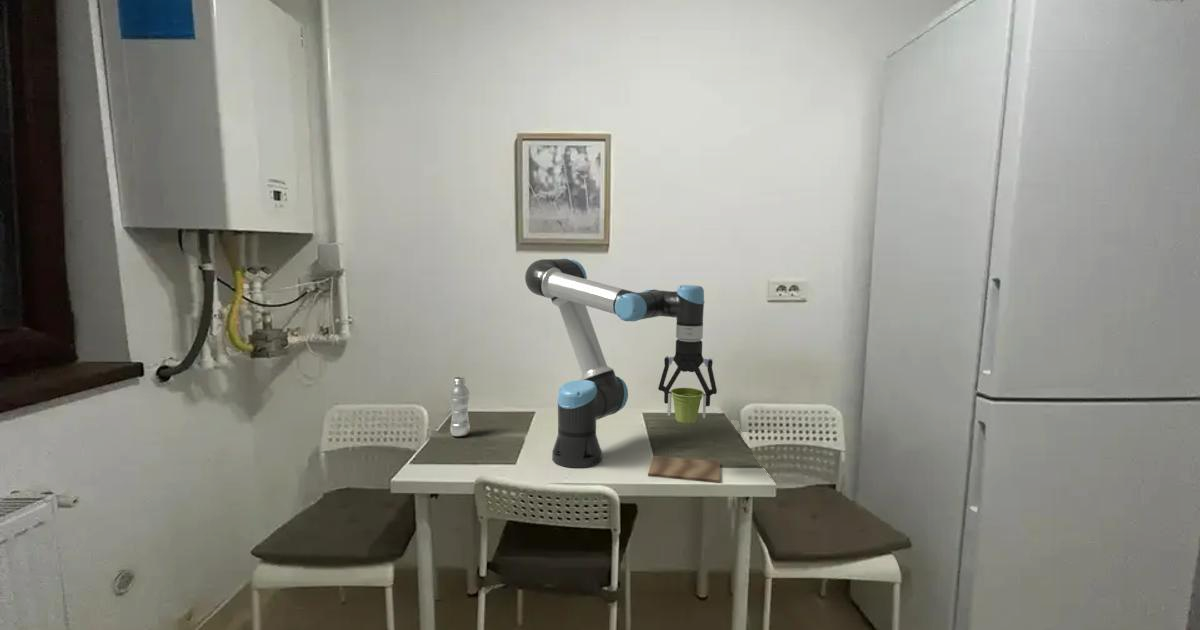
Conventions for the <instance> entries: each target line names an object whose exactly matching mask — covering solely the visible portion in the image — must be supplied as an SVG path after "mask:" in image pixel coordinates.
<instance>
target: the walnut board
mask: <svg viewBox="0 0 1200 630" xmlns="http://www.w3.org/2000/svg"><path fill="white" fill-rule="evenodd" d="M720 465H721V463H720V461H717V460H705V459H694V458H683V457H671V456H663V455H662V456H661V455H653V456H652V460H651V462H650V466H649V469H648V471H647V476H648V477H653V478H666V479H673V480H674V479H677V480H686V481H696V482H704V483H705V482H708V483H716V484H720V475H721V474H720V472H721V471H720V470H721V469H720Z"/></svg>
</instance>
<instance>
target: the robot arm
mask: <svg viewBox="0 0 1200 630" xmlns="http://www.w3.org/2000/svg"><path fill="white" fill-rule="evenodd" d="M524 277H525V278H524V279H525V280H524V281H525V284H526V286H527V288H528V290H529V291H530V292H531V293H533V295H534V294H535V295H538V296H541V297H544V298H548V299H551V303H552V304H553V305H555V306H557V308H558V309H559V312H560V314H561V318H562V320H563V323H564V326H565V329H566V332H567V335H568V337H569V341H570V343H571V346H572V349H573V351H574V354H575V358H576V360H577V363H578V366H579V369H580V371H581V378H580V379H578V380H571V381H568V382H566V383H564V384H562V385H561V386H560V387H559V390H558V397H557V435H556V439H555V442H554V446H553V449H552V451H551V456H552V457H551V458H552V462H553V463H555V464H556V465H559V466H562V467H565V468H566V467H567V468H587V467H588V468H589V467H591V466H594V465H597V464H599V463H600V462H601V460H602V448H601V446H600V443H599V440H598V436H597V420H600V419H603V418H605V417H608V416H611V415H614V414H616V413H618V412H619V411H622V409H623V408H624V407H625V406H626V404H627V402H628V400H629V390H628V385H627V384H626V382H625V381H624V379H622V378H621V377H620V376H616V374H615V370H614V369H613V367H611V366H608V365H607V362H606V359H605V356H604V353H603V350H602V348H601V345H600V343H599V340H598V336H597V333H596V331H595V328H594V325H593V323H592V320H591V316H590V314H589V311H588V308H587V307H589V308H593V309H596V310H599V311H603V312H606V313H610V314H613V315H616V316H617V317H619V319H620V320H622V321H624V322H637V321H639V320H640V321H641V320H646V319H652V318H657V317H665V318H666V317H668V318H676V324H675V325H676V327H675V333H676V334H675V337H676V340H675V354H674V356H665V357H664V361H663V363H664V367H663V371H662V373H661V377H660V381H659V385H658V387H657V389H658V391H661V392H663V394H664V395H663V397H664V398H663V399H664V400H663V402H664V404H667V416H671V413H672V393H671V389H672V387H673V385H674V383H675V382H676V381H677V378H678V377H679V375H680V373H681V372H683V373H685V372H689V373H695V375H696V377H697V379H698V381H699V383H700V385H701V387H702V389H703V392H704V394H703V396H702V397H703V399H702V419H706V410H707V409H706V408H707V407H710V405H711V396H712V395H716V394H717V391H718V389H717V385H716V379H715V376H714V370H713V362H714V360H713V359H712V358H709V359H708V358H704V357H703V341H702V339H703V337H704V336H703V335H704V310H705V309H704V308H705V289H704V287H703V286H700V285H696V284H695V285H694V284H691V285H690V284H681V285H678V287H677V289H676V291H670V290H659V289H645V290H643V291H642V292H635V291H632V290H627V289H624V288H621V287H616V286H613V285H609V284H606V283H602V282H597V281H594V280H590V279H588V277H587V272H586V270H585V268H584V266H583V265H582V264H581V263H580V262H578V261H577V260H575V259H569V258H566V257H565V258H564V257H563V258H552V259H538V260H535V261H534V262H532V263H531V264H530V265H529V266H528V267H527V269H526V271H525V275H524ZM673 362H674V364H675V365H676V366H677V368H676V369H675V371H674V373H673V375H672V376H671V378H670V380H669V381H668V382H667V384H666V386H665V382H666V379H667V375H668V371H669V368H670V365H672V364H673ZM702 364H704V366H705V367H706V368H707V373H708V377H709V383H710V387H711V389H710V388H709V386H708V384H707V381H706V380H705V377H704V375H703V373H702V371H701V369H700V367H701V365H702Z"/></svg>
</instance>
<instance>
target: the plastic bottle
mask: <svg viewBox="0 0 1200 630" xmlns="http://www.w3.org/2000/svg"><path fill="white" fill-rule="evenodd" d="M465 379H466V378H465V376H464V377H463V376H457V377H454V378H453V387H452V388H451V390H450V392H449V398H450V399H449V400H450V406H451V422H450V428H449V430H450V434H451V435H452V436H453V437H463V436H467V435H468V434H469V432H470V429H471V426H470V425H471V424H470V421H469V413H468V409H469V399H470V392H469V389H468V387H467V386H466V385H465V384H466V380H465Z"/></svg>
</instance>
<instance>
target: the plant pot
mask: <svg viewBox="0 0 1200 630" xmlns="http://www.w3.org/2000/svg"><path fill="white" fill-rule="evenodd" d="M670 391H671V393H672V394H671V396H672V398H673V406H674V407H673V409H674V417H675V421H677V422H678V423H681V424H689V423H691V424H695V423H696V422H697V420H698V415H699V409H700V404H701V400H703V399H702V397H703V395H704V394H705V392H704V390H700V389H698V388H697V389H696V388H692V387H677V388H673V389H670Z"/></svg>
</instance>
